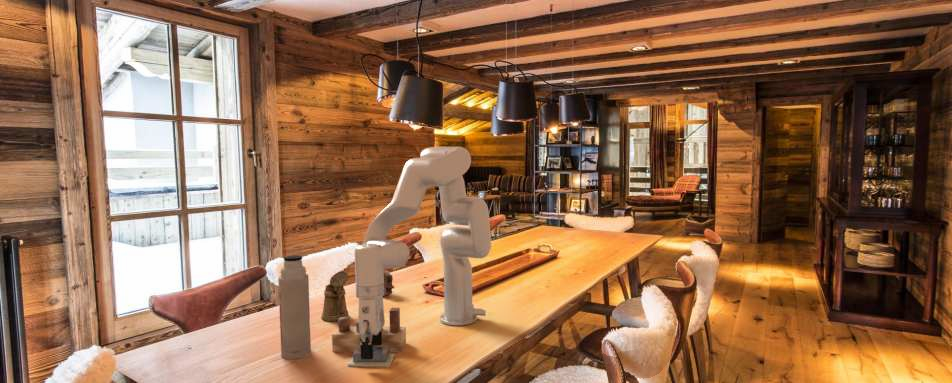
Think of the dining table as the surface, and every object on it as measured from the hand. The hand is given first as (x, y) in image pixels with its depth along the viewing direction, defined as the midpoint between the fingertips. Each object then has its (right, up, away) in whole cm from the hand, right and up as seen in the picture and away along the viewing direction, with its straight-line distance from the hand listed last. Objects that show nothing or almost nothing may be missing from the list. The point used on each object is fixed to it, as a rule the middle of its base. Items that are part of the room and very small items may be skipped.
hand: (371, 351), depth 139 cm
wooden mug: (-19, 0, +36) cm, 41 cm away
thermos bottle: (-23, -3, +6) cm, 24 cm away
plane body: (-3, -2, +10) cm, 11 cm away
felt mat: (0, -3, 0) cm, 3 cm away
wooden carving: (-9, +2, +65) cm, 66 cm away
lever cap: (0, -2, 0) cm, 2 cm away
